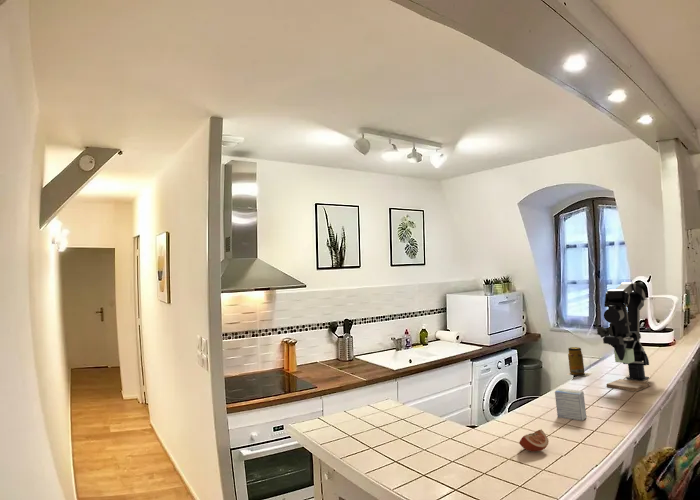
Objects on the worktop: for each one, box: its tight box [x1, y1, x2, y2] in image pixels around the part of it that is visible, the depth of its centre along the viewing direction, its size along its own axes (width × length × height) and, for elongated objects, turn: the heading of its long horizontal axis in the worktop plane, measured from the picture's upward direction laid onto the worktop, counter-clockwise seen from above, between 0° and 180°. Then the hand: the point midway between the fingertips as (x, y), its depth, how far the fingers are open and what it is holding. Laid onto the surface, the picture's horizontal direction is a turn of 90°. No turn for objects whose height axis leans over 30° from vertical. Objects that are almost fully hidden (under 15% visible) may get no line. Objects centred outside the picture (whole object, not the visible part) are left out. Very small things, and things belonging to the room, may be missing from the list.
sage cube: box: [613, 348, 635, 364], centre depth 176 cm, size 5×5×5 cm
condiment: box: [567, 346, 593, 377], centre depth 201 cm, size 7×8×12 cm
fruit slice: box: [518, 428, 550, 453], centre depth 120 cm, size 8×7×5 cm
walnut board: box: [606, 378, 650, 392], centre depth 175 cm, size 11×11×1 cm
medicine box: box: [554, 388, 587, 422], centre depth 144 cm, size 8×4×9 cm, turn 47°
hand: (624, 359), depth 176 cm, fingers closed on sage cube, 5 cm apart
